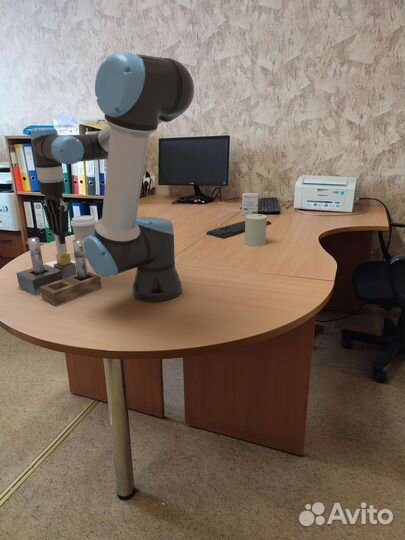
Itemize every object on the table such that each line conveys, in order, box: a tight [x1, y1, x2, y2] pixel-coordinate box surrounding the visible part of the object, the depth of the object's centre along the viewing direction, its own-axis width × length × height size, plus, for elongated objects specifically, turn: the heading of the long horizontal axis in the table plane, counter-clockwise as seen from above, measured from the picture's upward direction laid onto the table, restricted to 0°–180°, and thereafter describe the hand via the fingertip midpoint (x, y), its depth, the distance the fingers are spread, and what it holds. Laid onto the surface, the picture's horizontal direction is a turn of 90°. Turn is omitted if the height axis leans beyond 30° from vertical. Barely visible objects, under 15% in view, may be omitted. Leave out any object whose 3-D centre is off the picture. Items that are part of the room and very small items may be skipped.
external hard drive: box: [43, 259, 76, 267], centre depth 143 cm, size 2×8×12 cm
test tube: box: [72, 239, 89, 281], centre depth 120 cm, size 3×3×16 cm
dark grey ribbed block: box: [205, 220, 272, 239], centre depth 187 cm, size 35×11×2 cm, turn 134°
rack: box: [40, 271, 102, 307], centre depth 119 cm, size 16×7×4 cm, turn 140°
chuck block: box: [16, 262, 77, 296], centre depth 127 cm, size 10×16×5 cm, turn 141°
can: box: [244, 213, 268, 247], centre depth 164 cm, size 9×9×12 cm
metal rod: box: [27, 237, 45, 276], centre depth 123 cm, size 3×3×16 cm
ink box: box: [241, 192, 259, 217], centre depth 212 cm, size 8×5×12 cm, turn 82°
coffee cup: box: [70, 215, 97, 256], centre depth 152 cm, size 10×10×15 cm
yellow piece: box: [55, 252, 72, 267], centre depth 130 cm, size 3×3×6 cm
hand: (62, 252), depth 129 cm, fingers closed
